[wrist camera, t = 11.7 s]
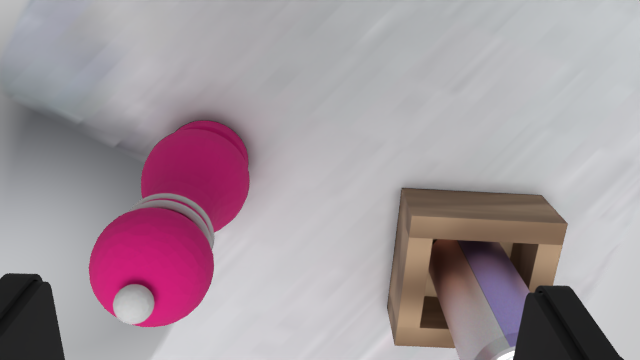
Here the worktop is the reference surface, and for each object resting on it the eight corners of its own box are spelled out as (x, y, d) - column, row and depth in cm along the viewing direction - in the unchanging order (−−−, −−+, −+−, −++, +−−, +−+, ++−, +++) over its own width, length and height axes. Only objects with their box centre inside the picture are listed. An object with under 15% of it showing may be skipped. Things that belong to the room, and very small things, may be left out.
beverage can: (486, 211, 45) (564, 329, 31) (509, 271, 47) (591, 408, 33) (415, 239, 46) (459, 367, 32) (440, 297, 48) (492, 441, 34)
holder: (401, 187, 45) (412, 215, 40) (541, 195, 45) (567, 223, 40) (387, 307, 49) (394, 345, 44) (515, 313, 49) (536, 351, 44)
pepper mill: (182, 96, 42) (77, 213, 23) (271, 141, 43) (238, 286, 24) (144, 177, 44) (21, 343, 26) (230, 217, 45) (171, 403, 27)
